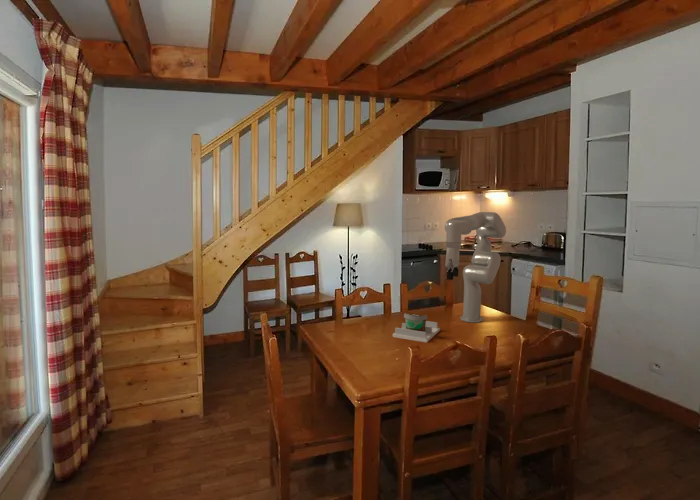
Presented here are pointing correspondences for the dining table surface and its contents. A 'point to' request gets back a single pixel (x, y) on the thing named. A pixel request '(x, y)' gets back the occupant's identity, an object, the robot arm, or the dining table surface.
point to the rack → (417, 332)
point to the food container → (415, 322)
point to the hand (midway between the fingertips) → (452, 277)
